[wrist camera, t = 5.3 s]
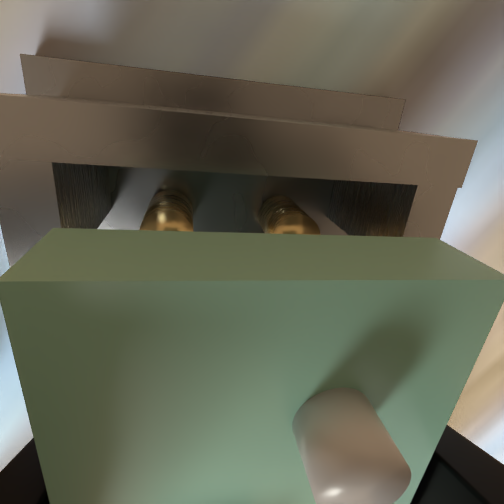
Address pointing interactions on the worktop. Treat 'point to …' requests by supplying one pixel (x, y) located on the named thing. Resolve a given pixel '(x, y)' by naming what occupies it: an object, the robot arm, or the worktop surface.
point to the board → (242, 362)
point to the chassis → (213, 157)
